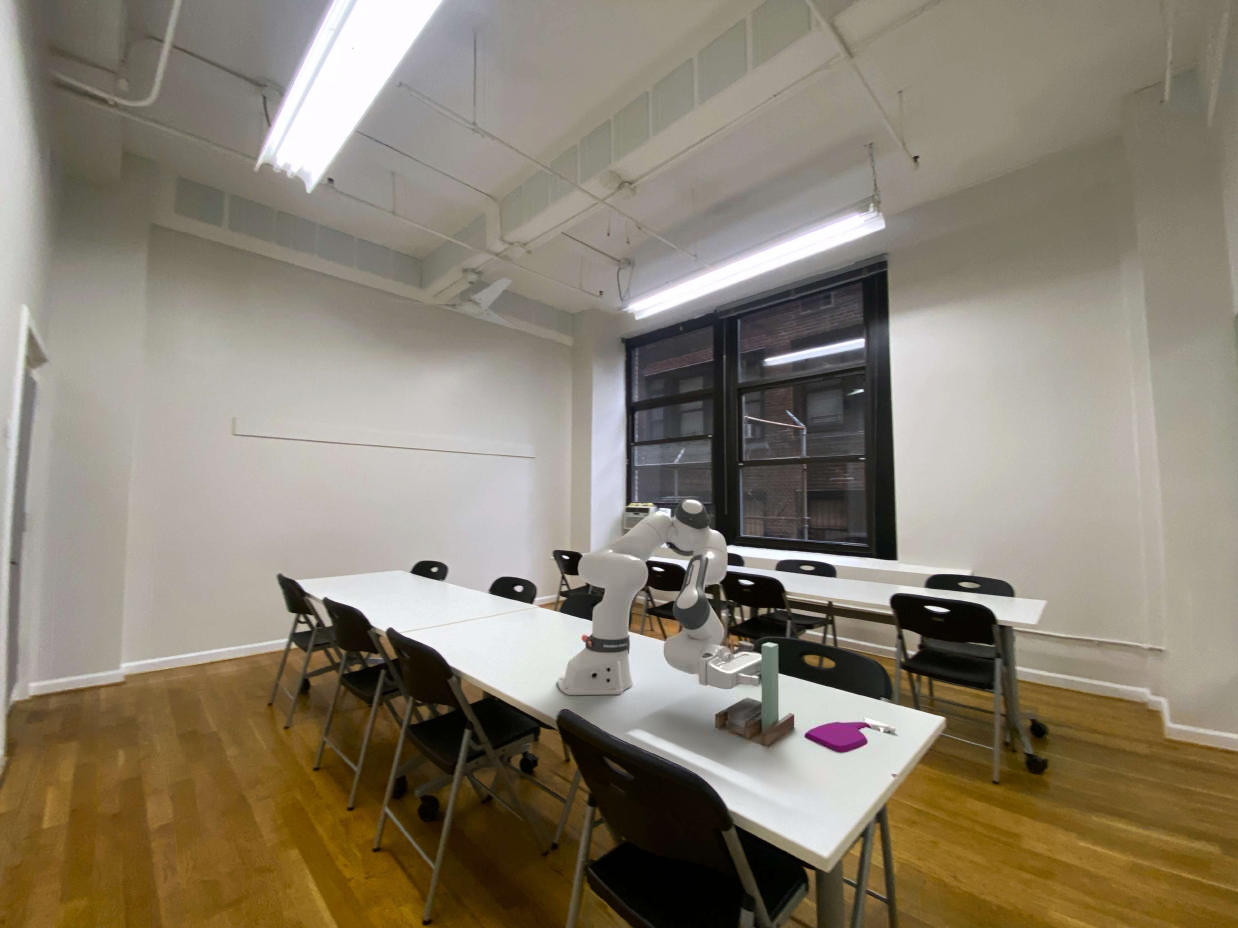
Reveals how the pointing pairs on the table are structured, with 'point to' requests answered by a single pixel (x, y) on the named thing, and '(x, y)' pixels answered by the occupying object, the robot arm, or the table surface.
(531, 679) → the table surface
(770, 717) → the tall board
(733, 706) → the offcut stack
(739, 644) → the pipe fitting
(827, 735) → the spray bottle
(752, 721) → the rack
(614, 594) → the robot arm
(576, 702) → the table surface
